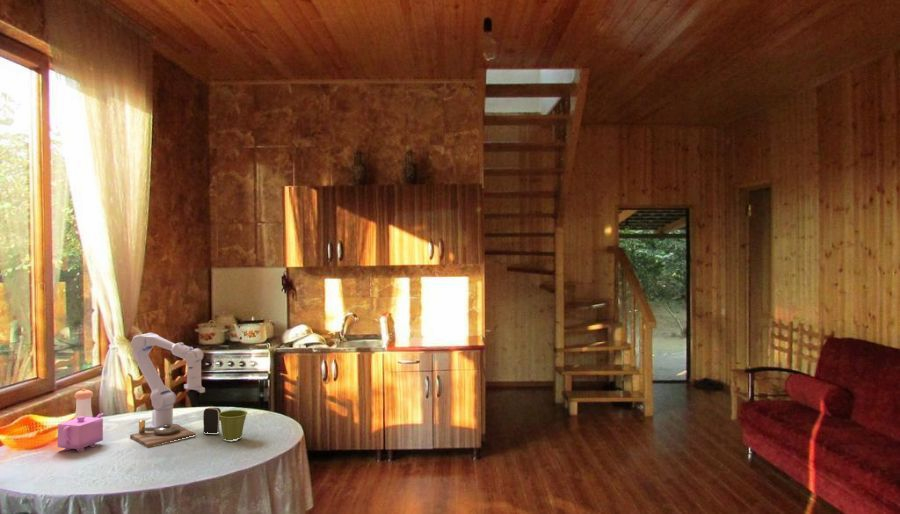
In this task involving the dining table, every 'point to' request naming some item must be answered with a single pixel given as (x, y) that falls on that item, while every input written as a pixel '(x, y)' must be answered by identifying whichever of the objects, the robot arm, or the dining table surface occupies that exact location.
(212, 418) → the battery charger
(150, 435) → the cutting board
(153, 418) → the robot arm
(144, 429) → the crank handle wheel
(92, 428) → the teapot
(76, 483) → the dining table surface
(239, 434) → the plant pot
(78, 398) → the pepper shaker
